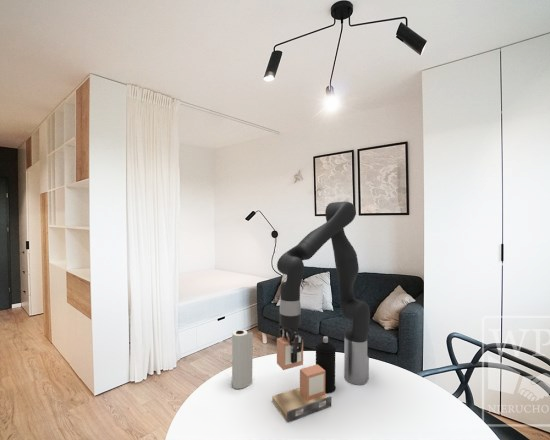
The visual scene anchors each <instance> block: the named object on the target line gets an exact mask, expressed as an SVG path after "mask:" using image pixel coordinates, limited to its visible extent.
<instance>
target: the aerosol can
mask: <svg viewBox="0 0 550 440" xmlns="http://www.w3.org/2000/svg"><path fill="white" fill-rule="evenodd" d="M336 350H337V347H336V346H335V345H334V344H333V343H332V342H330V341H329V336H325V335H324V336H322V341H319V342H318V343H317V344H316V345H315V365H317V364H318V365H319V366H320V367H321V368H323V369H324V370H325V394H331V393H334V392H335V391H336V389H337V387H336Z"/></svg>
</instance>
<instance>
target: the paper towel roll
mask: <svg viewBox="0 0 550 440" xmlns="http://www.w3.org/2000/svg"><path fill="white" fill-rule="evenodd" d="M253 333H254V332H253V331H251V332H248V331H247V330H245V329H236V330H234V331H232V334H231V335H232V336H231V337H232V347H231V348H232V354H231V358H232V359H231V365H232V367H231V369H232V370H231V386H232V388H234V389H236V390H240V389H244V388H246V387H248V386H249V385H252V384H253V343H254V341H253V339H254V338H253Z"/></svg>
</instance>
